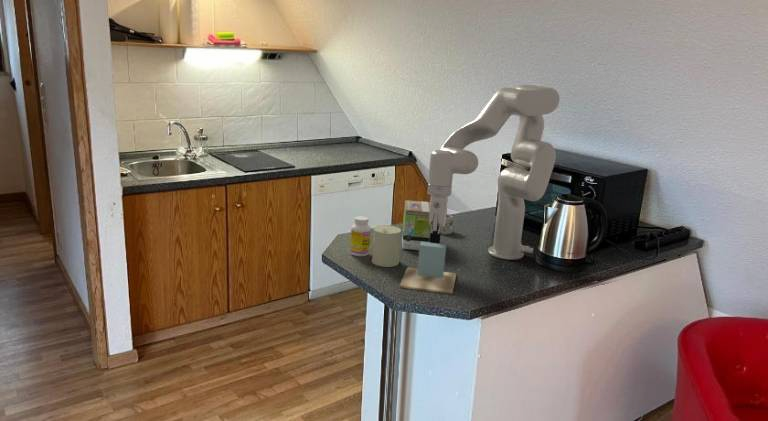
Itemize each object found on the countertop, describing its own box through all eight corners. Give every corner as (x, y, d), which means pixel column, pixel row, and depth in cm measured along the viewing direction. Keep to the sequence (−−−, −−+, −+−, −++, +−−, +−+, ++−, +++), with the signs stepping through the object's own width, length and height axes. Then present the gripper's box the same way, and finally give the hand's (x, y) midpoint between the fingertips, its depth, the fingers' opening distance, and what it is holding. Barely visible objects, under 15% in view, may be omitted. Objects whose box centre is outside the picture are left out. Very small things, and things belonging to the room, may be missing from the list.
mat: (456, 275, 192) (456, 273, 192) (452, 294, 177) (452, 292, 177) (407, 269, 195) (407, 267, 195) (399, 287, 180) (399, 285, 180)
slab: (443, 274, 191) (446, 244, 188) (442, 278, 188) (445, 248, 185) (418, 271, 192) (421, 241, 190) (417, 275, 189) (419, 245, 186)
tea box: (429, 251, 214) (433, 211, 210) (401, 249, 214) (404, 209, 210) (427, 238, 228) (430, 200, 224) (401, 236, 228) (404, 199, 224)
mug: (453, 234, 235) (455, 218, 233) (437, 234, 233) (438, 218, 231) (445, 226, 244) (447, 211, 242) (430, 227, 243) (431, 211, 241)
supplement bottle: (362, 258, 202) (364, 222, 199) (346, 253, 205) (347, 218, 202) (372, 253, 208) (375, 218, 204) (357, 249, 211) (359, 214, 207)
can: (367, 263, 197) (369, 229, 194) (377, 255, 206) (379, 222, 203) (393, 268, 194) (396, 233, 191) (402, 260, 203) (405, 226, 200)
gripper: (449, 196, 182) (444, 253, 186) (453, 185, 196) (447, 238, 201) (424, 193, 183) (420, 250, 188) (430, 183, 197) (425, 236, 202)
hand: (434, 244), depth 194 cm, fingers closed
